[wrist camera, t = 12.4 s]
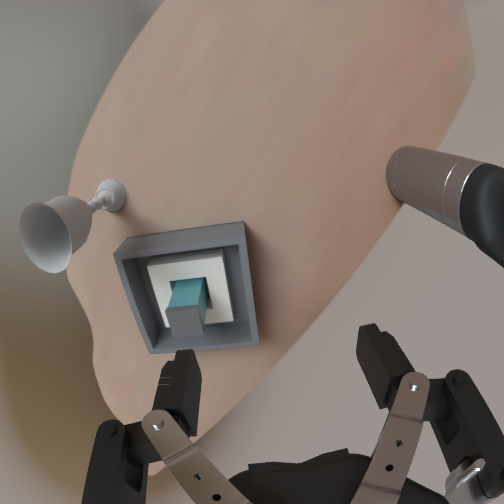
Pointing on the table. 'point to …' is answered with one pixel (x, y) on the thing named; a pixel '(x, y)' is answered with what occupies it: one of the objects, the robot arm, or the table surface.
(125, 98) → the table surface
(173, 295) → the peg
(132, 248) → the walled box
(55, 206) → the chalice
